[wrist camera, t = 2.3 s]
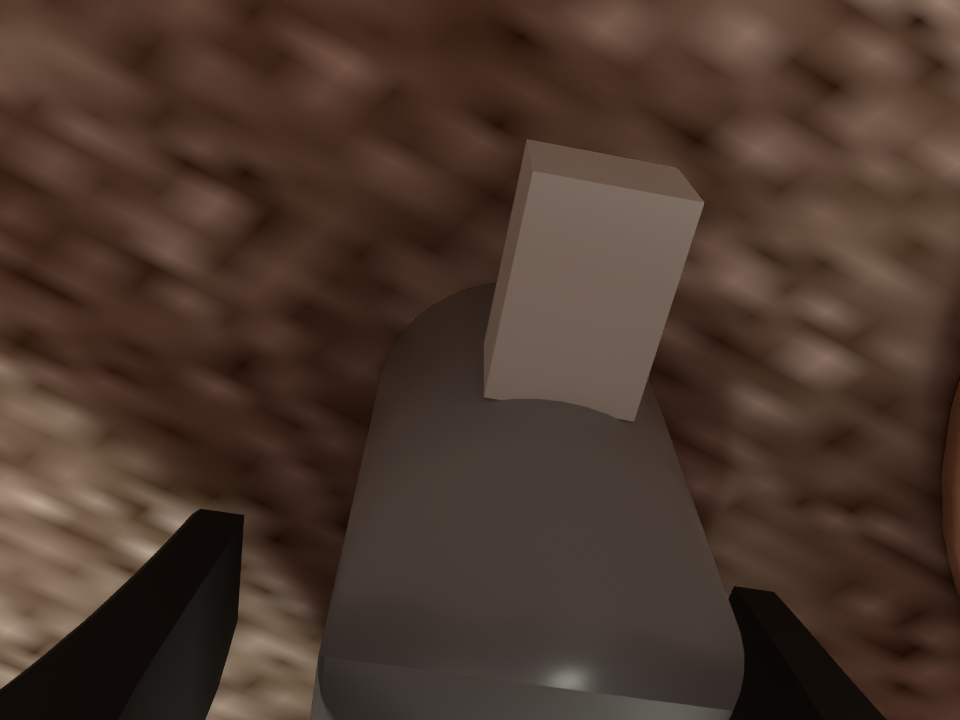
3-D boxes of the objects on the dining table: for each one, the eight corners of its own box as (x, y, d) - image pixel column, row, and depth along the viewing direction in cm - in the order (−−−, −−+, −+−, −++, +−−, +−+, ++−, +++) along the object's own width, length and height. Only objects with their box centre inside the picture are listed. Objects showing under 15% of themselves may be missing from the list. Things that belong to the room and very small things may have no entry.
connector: (543, 734, 16) (566, 1056, 11) (331, 707, 15) (270, 1027, 11) (738, 143, 10) (925, 313, 6) (422, 84, 10) (375, 214, 6)
